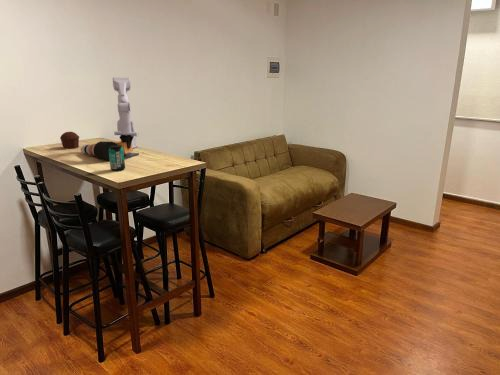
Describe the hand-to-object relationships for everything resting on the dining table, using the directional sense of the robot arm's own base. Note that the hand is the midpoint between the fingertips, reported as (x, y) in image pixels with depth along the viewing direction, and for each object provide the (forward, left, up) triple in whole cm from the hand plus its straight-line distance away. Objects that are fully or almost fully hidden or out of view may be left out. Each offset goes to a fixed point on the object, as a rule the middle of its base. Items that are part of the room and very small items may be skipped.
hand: (127, 148), depth 225 cm
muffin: (-12, -51, -5) cm, 52 cm away
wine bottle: (+5, -18, -6) cm, 19 cm away
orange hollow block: (0, -3, -2) cm, 4 cm away
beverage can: (+27, +12, -5) cm, 30 cm away
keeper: (0, -3, -5) cm, 6 cm away
